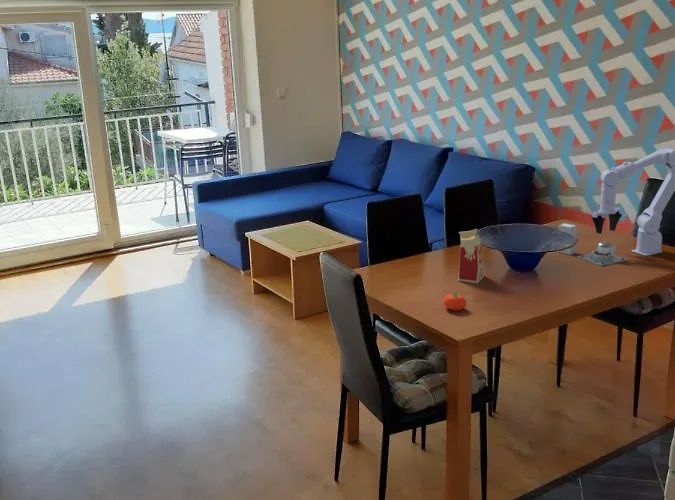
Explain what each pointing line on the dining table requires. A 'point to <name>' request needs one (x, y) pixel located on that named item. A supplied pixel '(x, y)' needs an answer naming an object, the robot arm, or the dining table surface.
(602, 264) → the duct flange
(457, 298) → the pumpkin
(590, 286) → the dining table surface
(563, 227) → the skincare box
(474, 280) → the milk carton
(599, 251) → the cylinder with square knob
